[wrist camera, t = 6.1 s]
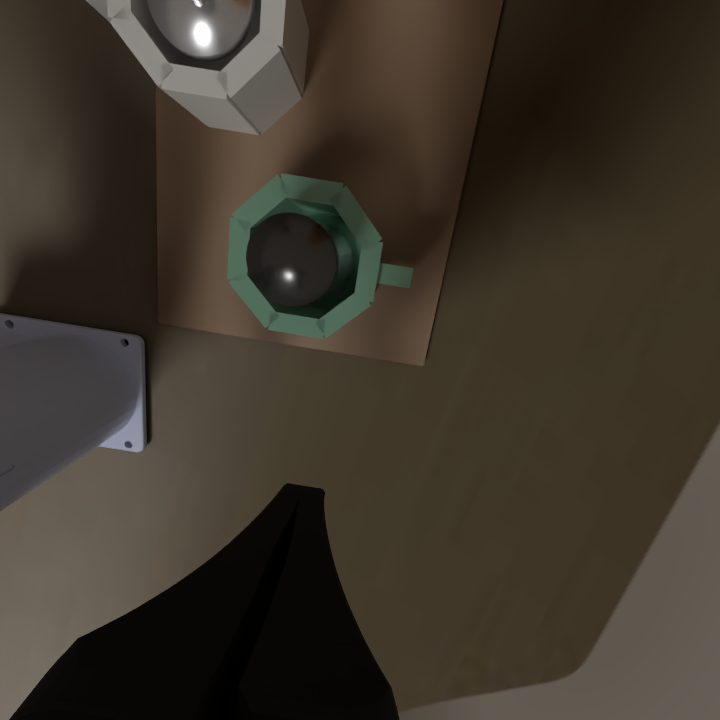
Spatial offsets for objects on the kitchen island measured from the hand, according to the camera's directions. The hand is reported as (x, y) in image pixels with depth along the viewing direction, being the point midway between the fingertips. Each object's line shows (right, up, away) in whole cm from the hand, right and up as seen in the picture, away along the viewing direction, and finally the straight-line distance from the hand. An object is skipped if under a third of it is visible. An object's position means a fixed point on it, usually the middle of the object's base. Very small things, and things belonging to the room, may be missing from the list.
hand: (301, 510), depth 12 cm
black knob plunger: (0, +11, +7) cm, 13 cm away
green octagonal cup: (0, +11, +7) cm, 13 cm away
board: (-1, +15, +6) cm, 17 cm away
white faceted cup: (-4, +20, +5) cm, 21 cm away
